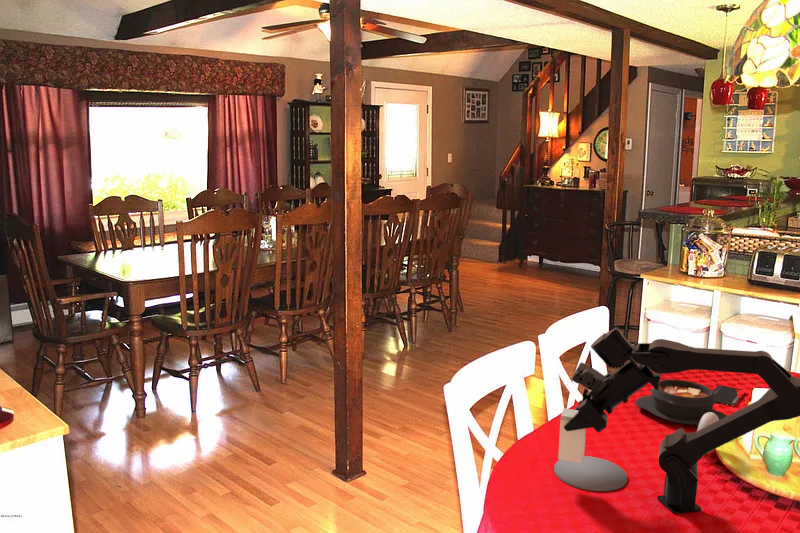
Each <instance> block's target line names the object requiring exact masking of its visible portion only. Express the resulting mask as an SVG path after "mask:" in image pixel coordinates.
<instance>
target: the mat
mask: <svg viewBox="0 0 800 533" xmlns="http://www.w3.org/2000/svg"><path fill="white" fill-rule="evenodd" d="M553 471H554V474H555V475H556V477H557V478H558V479H559V480H561V481H562V482H564V484H566V485H569V486H571V487H574V488H576V489H581V490H583V491H591V492H611V491H615V490H619V489H621V488H623V487H624V486H625V485H626V484H627V481H628V474H627V472H626V470H624V469H623V468H622V467H621V466H619V465H618V464H616V463H614V462H612V461H610V460H607V459H604V458H600V457H595V456H589V455H584V457H583V461H582V463H578V462H572V461H566V460H560V459H558V460H557V461H556V462H555V464H554V469H553Z"/></svg>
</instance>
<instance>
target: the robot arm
mask: <svg viewBox="0 0 800 533" xmlns="http://www.w3.org/2000/svg"><path fill="white" fill-rule="evenodd" d="M590 348H591V349H592V350H593V351H594V353H596V354H597V356H598V357H599V358H600V359H601V360H602V361H603V362H604V364H605V365H606V366H607V367H608V368H612V369H617V370H616V371H615V372H608V373H606V374H603V373H602V372H600V371H599V370H597V369H595V368H593V367H591V366H590V365H588V364H586V363H584V362H580V363H579V364H578V365H577V368H576V369H575V371H574V373H573V375H572V377H571V380H572V382H574V383H576V384H579V385H581V386H583V387H584V389H583V392H582V400H580V401H579V403H578V405H577V406H576V407H575V409H574V410H578V412H577V413H576V414H575V416H574V417H573V418H572V419H571V420H570V421H569V422H568V423H567V424H566V425H565V426H564V429H565V430H566V431H572V430H578V429H585V428H586V429H592V428H593V429H594V430H595V431H596V432H597V433H600V432H602V431H604V430H605V429H606V428H607V424H608V419H609V416H608V415H611V414H612V413H613V412H614V409H615V408H616V407H618V406H619V405H620V404H622V403H624V404H626V403H627V402H628V401H629V400H630V398H631V397H632V396H633V395H635V394H636V393H637V392H639V391H641V389H643V388H644V387H645V386H647V385H649V384H650V385H651V386H652V388H653V387H654V388H655V389H656V390H658V389H659V381H661V378H662V375H666V374H676V373H677V374H678V373H679V374H680V373H682V372H686V371H687V372H688V371H697V370H698V371H711V372H723V373H725V372H727V373H740V374H748V375H749V374H751V375H758V376H759V377H760V378H761V379H762V381H764V382H765V383H766V384H767V385H768V387H769V389H768V390H767V391H766V392H765V393H764V394H763V395H762V396H761V397H760V398H759V399H758V400H756V401H755V402H752V403H750V404H749V405H746V406H744V407H743V408H741V409H738V410H736V411H735V412H733V413H731V414H728V416H726V417H724V418H722V419H720V420H718V421H716V422H714V423H713V424H711V425H709V426H707V427H705V428H703V429H701V430H699V431H697V430H696V431H694V432H685V430H684V428H683V427H680V428H678V429H677V430H675V431H674V432H673V433H670V434H665V435H664V439H663V440H661V442H660V443H659V448H658V466H659V467H660V469H661V470H662V471H663V472H665V478H664V486H663V494H662V495H657V500H659V502H660V503H662V505H664V506H665V507H666V508H667V509H668V510H669V511H670V512H672V513H673V514H682V513H683V514H684V513H691V512H701V511H702V507H701V506H700V505H698V504H697V503H696V502H697V501H696V500H697V491H698V485H699V484H698V482H699V472H698V462H699V461H700V460H701V459H702V458H703V457H704V456H705V455H707V454H709V453H708V452H710V451H711V452H713V451H714V450H715V449H718V448H720V447H722V446H724V445H727V443H730V442H733V441H735V439H739V438H740V437H742V436H744V435H747V434H748V433H750V432H752V431H755V430H756V429H759V428H760V427H762V426H765V425H766V424H769V423H771V422H776V421H787V420H791V419H795V418H798V417H800V377H797V376H793V375H792V374H791V373H790V372H789V371H787V369H786V368H785V367H783V366H782V365H781V364H780V363H779V362H778V361H777V360H776V359H774V358H773V357H772V355H771V354H770V353H769V352H768V351H764V350H756V351H755V350H754V351H753V350H751V351H750V350H738V349H737V350H733V349H720V348H704V347H694V346H689V345H686V344H683V343H680V342H677V341H673V340H669V339H664V338H660V339H658V338H657V339H655V340H653V341H652V342H650V343H649V342H646V343H645V342H641V343H637V342H636V343H633V344H632V343H631V342H630V341H629V339H628V338H626V337H625V335H624V334H623V332H622V331H621V330H620V328H619V327H618V326H616V327H614V328H613V329H611V330H609V331H607V332H606V333H602V335H600V336H599V337H598V338H597V339H596V340H594V341H593V342H592V344H590ZM605 411H606V412H605ZM712 450H713V451H712ZM711 452H710V453H711Z"/></svg>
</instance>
